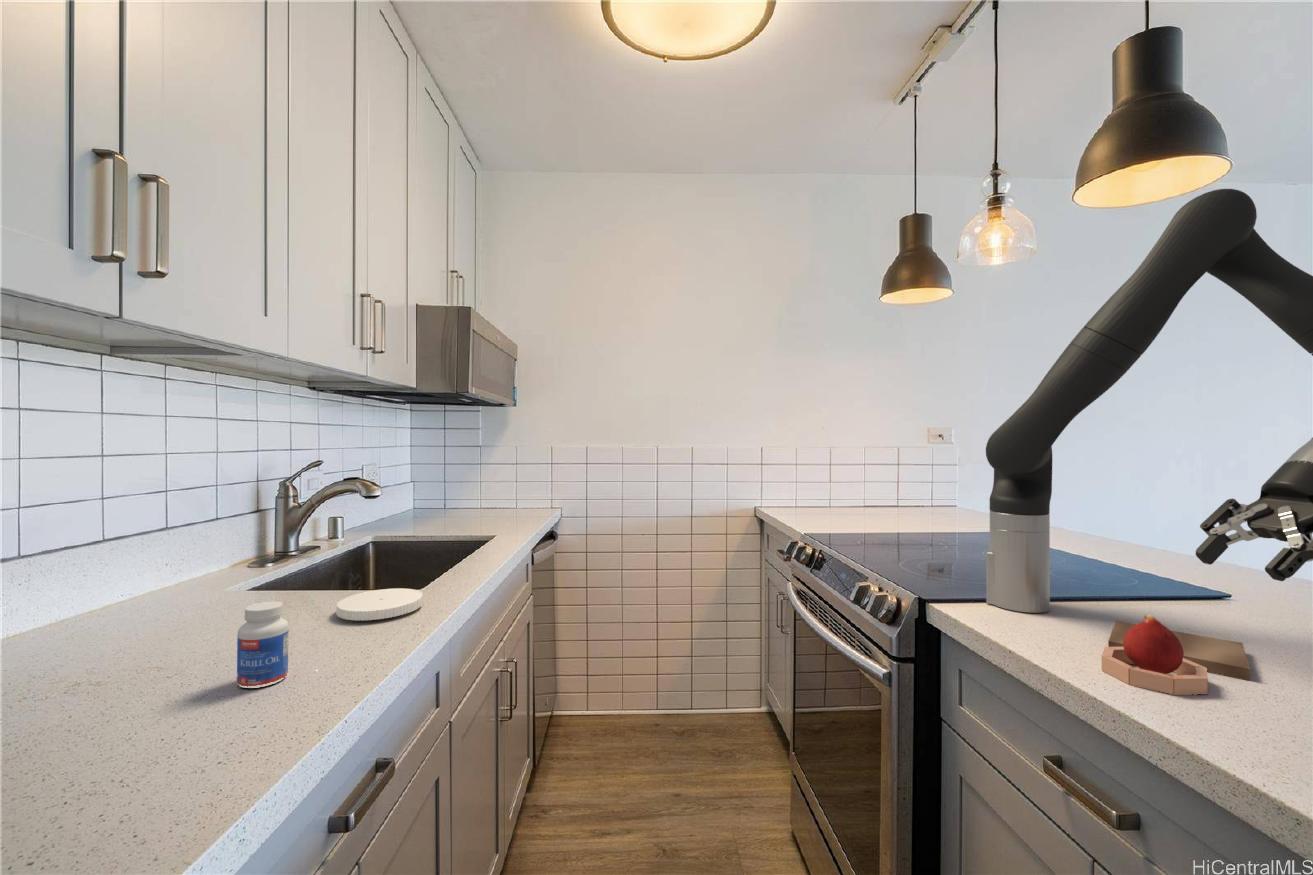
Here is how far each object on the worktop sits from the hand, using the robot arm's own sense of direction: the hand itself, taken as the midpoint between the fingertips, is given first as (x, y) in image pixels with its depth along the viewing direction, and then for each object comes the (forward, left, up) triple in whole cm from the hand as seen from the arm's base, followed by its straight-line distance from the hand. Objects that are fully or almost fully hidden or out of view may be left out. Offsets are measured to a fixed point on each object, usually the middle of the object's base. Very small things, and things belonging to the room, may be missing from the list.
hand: (1235, 567), depth 72 cm
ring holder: (-8, -8, -14) cm, 18 cm away
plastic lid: (-109, -67, -15) cm, 129 cm away
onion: (-8, -8, -14) cm, 18 cm away
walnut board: (-6, +5, -14) cm, 16 cm away
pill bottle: (-91, -88, -14) cm, 127 cm away
